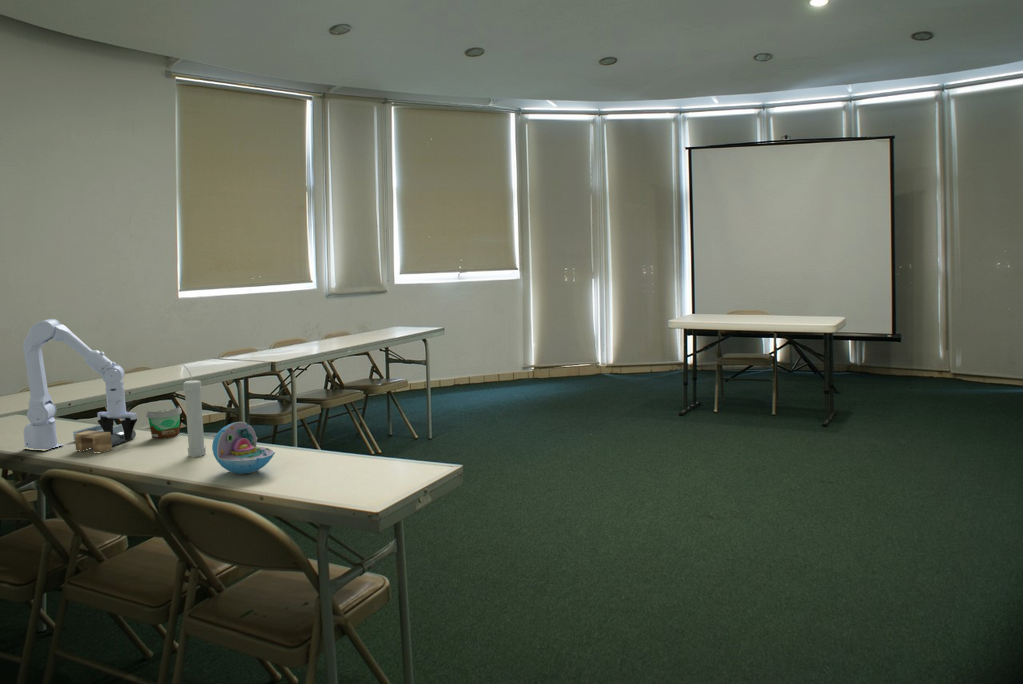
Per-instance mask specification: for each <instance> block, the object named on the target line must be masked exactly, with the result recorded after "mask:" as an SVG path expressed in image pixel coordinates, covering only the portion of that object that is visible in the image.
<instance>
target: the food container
mask: <svg viewBox="0 0 1023 684" xmlns="http://www.w3.org/2000/svg"><path fill="white" fill-rule="evenodd" d="M181 414H182V408H181V407H180V405H177V407H176V408H172V409H162V410H158V411H147V412H146V418H147V419H148V422H149V423H148V424H149V428H150V434H151V438H152V439H153V438H156V439H155V440H163V439H164V438H166V439H171V437H172V438H176V437H178V436H179V435H180V423H181V420H180V419H181ZM178 434H179V435H178ZM177 435H178V436H177Z"/></svg>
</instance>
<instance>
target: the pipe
mask: <svg viewBox="0 0 1023 684" xmlns="http://www.w3.org/2000/svg"><path fill="white" fill-rule="evenodd" d="M181 365H182V366H183V367H184V368H186V370H187V371H188V373H189V376H190V378H191V380H186V381H184V382H183V389H182V391H184V398H185V411H186V412H185V413H186V414H185V415H186V428H187V442H188V447H187V452H188V456H189V458H198V456H199V457H203V456H205V455H206V445H205V437H204V421H203V405H202V404H203V403H202V392H201V390H202V389H203V387H202V382H201V380H198V379H197V380H193V377H192V374H191V372H190V370H189V369H188V368H187V367H186V365H184V364H182V363H181ZM202 455H203V456H202Z"/></svg>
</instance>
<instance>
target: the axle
mask: <svg viewBox="0 0 1023 684" xmlns="http://www.w3.org/2000/svg"><path fill="white" fill-rule="evenodd" d="M136 435H137V432H136V430H135V429H134V428H133V431H132V436H131V440H134V439H135V438H136ZM133 438H134V439H133ZM131 440H130V439H129V441H131ZM125 441H126V442H128V440H125V437H124V430H123V431H120V432H117V433H114V434H111V444H112V447H115V446H117V444H118V445H120V444H122V442H123V443H125ZM119 443H120V444H119ZM114 445H115V446H114Z"/></svg>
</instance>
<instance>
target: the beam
mask: <svg viewBox="0 0 1023 684" xmlns="http://www.w3.org/2000/svg"><path fill="white" fill-rule="evenodd" d="M74 443H75V444H74V445H75V451H76V450H80V451H83V450H86V449H89V448H93V449H92V450H93V453H94V452H103V453H105V452H104V451H106V452H108V451H107V450H109V451H112V450H113V446H112V444H111V432H101V431H84V432H80V433H76V434H75V441H74ZM111 449H112V450H111Z"/></svg>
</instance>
